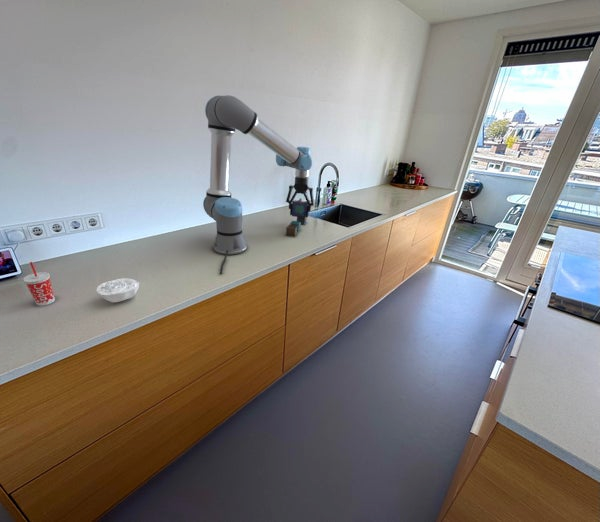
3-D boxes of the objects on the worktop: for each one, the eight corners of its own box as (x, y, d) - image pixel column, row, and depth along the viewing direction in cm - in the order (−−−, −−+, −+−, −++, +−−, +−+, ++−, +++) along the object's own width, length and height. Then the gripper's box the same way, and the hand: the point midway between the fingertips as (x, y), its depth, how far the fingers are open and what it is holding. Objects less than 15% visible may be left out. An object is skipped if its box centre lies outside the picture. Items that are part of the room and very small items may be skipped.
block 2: (294, 237, 157) (295, 228, 155) (285, 235, 158) (286, 227, 156) (297, 234, 161) (297, 225, 159) (288, 232, 162) (289, 224, 160)
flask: (307, 216, 171) (308, 198, 166) (306, 217, 168) (308, 199, 164) (291, 215, 171) (292, 197, 166) (291, 216, 169) (292, 198, 164)
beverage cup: (30, 308, 88) (13, 268, 82) (37, 297, 93) (21, 259, 87) (55, 305, 90) (40, 265, 84) (60, 294, 95) (47, 256, 89)
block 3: (304, 224, 177) (304, 217, 174) (296, 223, 178) (297, 216, 175) (306, 222, 181) (306, 214, 179) (298, 221, 182) (299, 213, 180)
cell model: (138, 305, 93) (134, 287, 90) (95, 309, 89) (89, 291, 86) (144, 289, 101) (140, 272, 98) (105, 292, 98) (100, 275, 95)
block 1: (298, 232, 163) (298, 224, 161) (289, 231, 164) (290, 223, 162) (300, 230, 168) (300, 221, 166) (292, 228, 169) (292, 220, 167)
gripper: (322, 177, 161) (318, 216, 171) (285, 173, 165) (283, 211, 175) (319, 179, 154) (315, 219, 164) (281, 175, 159) (279, 214, 168)
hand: (299, 215), depth 170 cm, fingers closed on flask, 9 cm apart
